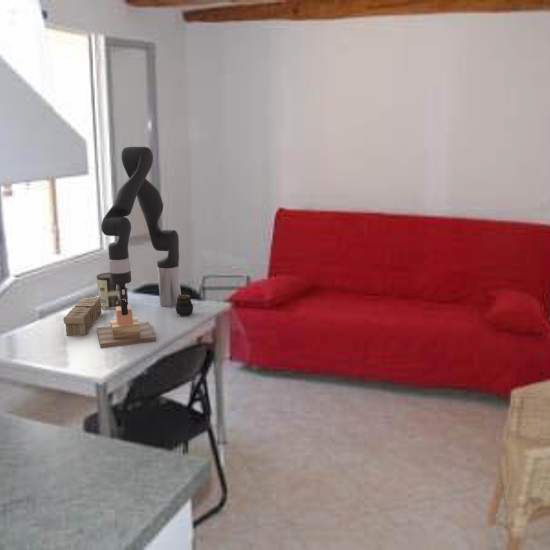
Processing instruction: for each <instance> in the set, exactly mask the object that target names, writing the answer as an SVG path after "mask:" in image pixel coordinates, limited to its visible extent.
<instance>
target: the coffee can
mask: <svg viewBox="0 0 550 550" xmlns="http://www.w3.org/2000/svg"><path fill="white" fill-rule="evenodd" d="M96 280H97V291H98V297H100V298H101V310H113V309H115V310H116V308H115V307H120V305H119V298H118V296H117V291H116V287H117V284H116V285H115V284H112V283H111V278H110V272H102V273H99V274H97V275H96Z"/></svg>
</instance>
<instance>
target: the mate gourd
mask: <svg viewBox="0 0 550 550" xmlns="http://www.w3.org/2000/svg"><path fill="white" fill-rule="evenodd" d="M178 295H179V296H178V297H177V304H176V306H175V312H176V314H177V315H178V316H181V317H188V316H190V315H192V314H193V310H194V305H193V303H192V300H191V295H189V294H181V295H180V294H178Z"/></svg>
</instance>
